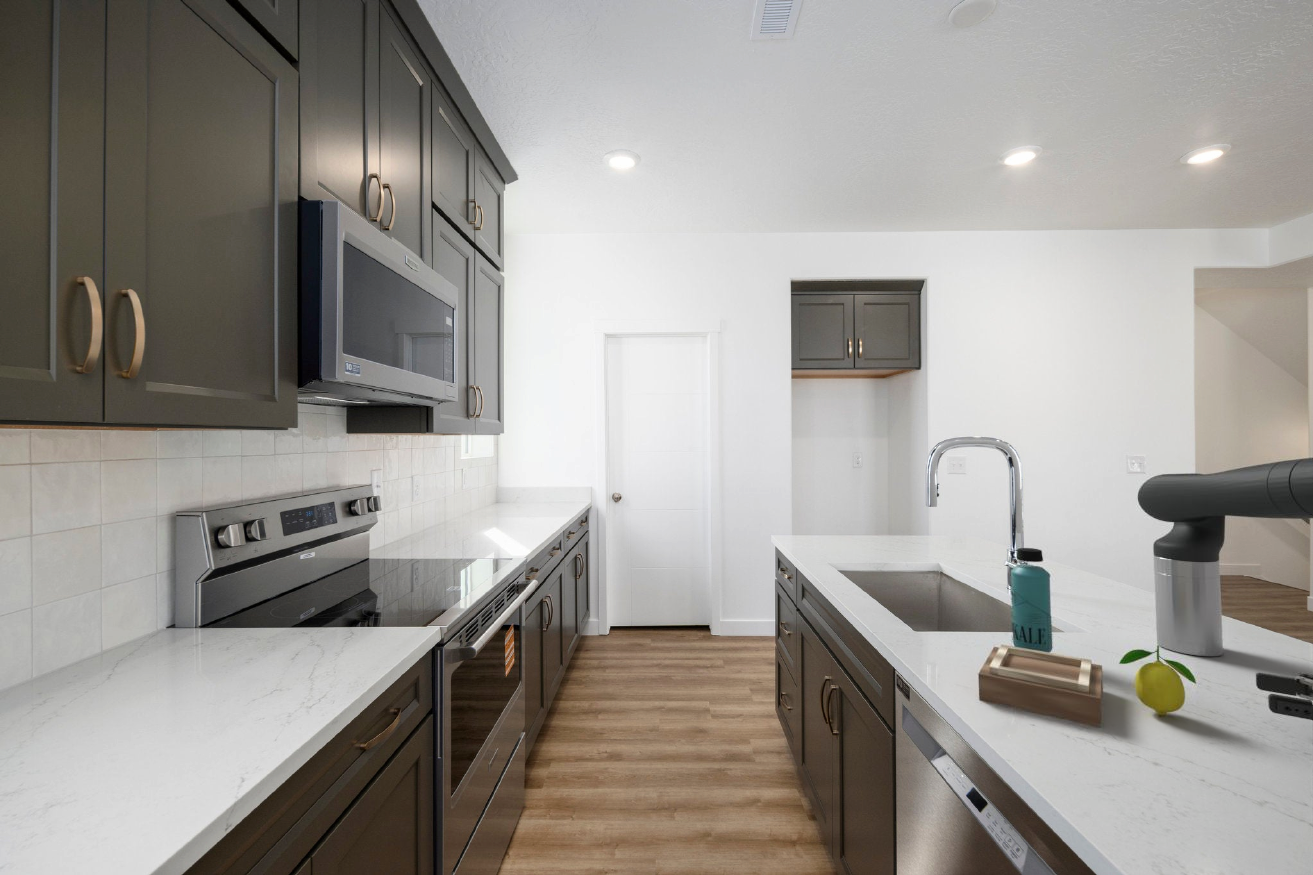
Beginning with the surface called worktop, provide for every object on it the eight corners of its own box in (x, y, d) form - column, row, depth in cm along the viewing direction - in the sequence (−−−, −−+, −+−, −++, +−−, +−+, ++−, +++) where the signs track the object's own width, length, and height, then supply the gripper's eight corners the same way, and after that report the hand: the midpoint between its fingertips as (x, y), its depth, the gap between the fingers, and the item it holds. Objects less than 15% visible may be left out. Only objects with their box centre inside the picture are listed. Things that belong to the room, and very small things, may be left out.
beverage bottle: (1041, 649, 110) (1037, 545, 110) (1062, 662, 103) (1058, 551, 104) (1005, 649, 110) (1002, 545, 111) (1023, 662, 104) (1020, 551, 104)
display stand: (994, 669, 101) (994, 640, 101) (1103, 690, 91) (1101, 659, 91) (979, 699, 89) (978, 667, 89) (1101, 727, 80) (1099, 691, 80)
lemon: (1120, 709, 85) (1118, 641, 85) (1143, 701, 87) (1141, 635, 87) (1176, 729, 79) (1173, 656, 79) (1199, 720, 81) (1196, 649, 81)
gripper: (1435, 673, 72) (1251, 647, 82) (1493, 716, 61) (1272, 680, 71) (1438, 733, 72) (1253, 700, 82) (1497, 787, 61) (1275, 741, 71)
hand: (1262, 691), depth 76 cm, fingers open, 8 cm apart
